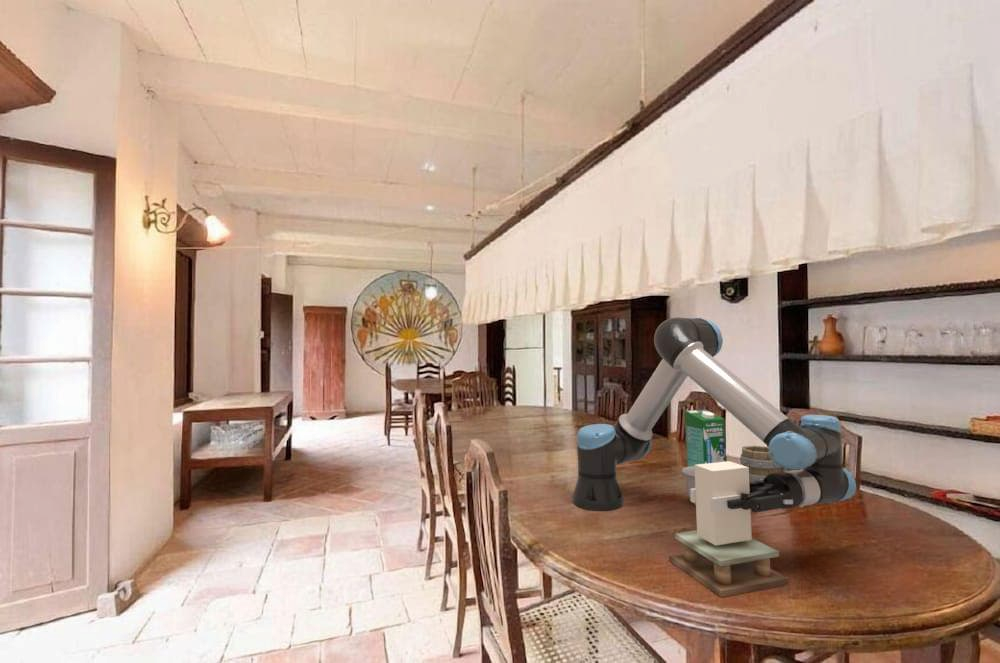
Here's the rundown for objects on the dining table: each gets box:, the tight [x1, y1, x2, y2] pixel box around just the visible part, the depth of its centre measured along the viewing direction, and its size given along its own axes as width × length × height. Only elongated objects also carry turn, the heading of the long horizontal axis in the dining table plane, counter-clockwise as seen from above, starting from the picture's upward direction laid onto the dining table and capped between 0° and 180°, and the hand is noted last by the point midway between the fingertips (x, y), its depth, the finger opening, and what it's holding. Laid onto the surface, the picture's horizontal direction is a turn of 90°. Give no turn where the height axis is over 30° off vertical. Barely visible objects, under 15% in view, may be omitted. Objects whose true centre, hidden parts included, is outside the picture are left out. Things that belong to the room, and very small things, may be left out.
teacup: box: [680, 466, 696, 506], centre depth 137 cm, size 12×15×10 cm
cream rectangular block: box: [695, 460, 753, 546], centre depth 97 cm, size 6×9×15 cm, turn 105°
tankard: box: [739, 445, 789, 482], centre depth 149 cm, size 20×13×15 cm, turn 105°
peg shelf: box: [668, 529, 790, 598], centre depth 96 cm, size 16×16×6 cm
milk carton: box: [684, 409, 727, 467], centre depth 159 cm, size 9×9×25 cm
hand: (701, 500), depth 95 cm, fingers open, 6 cm apart
